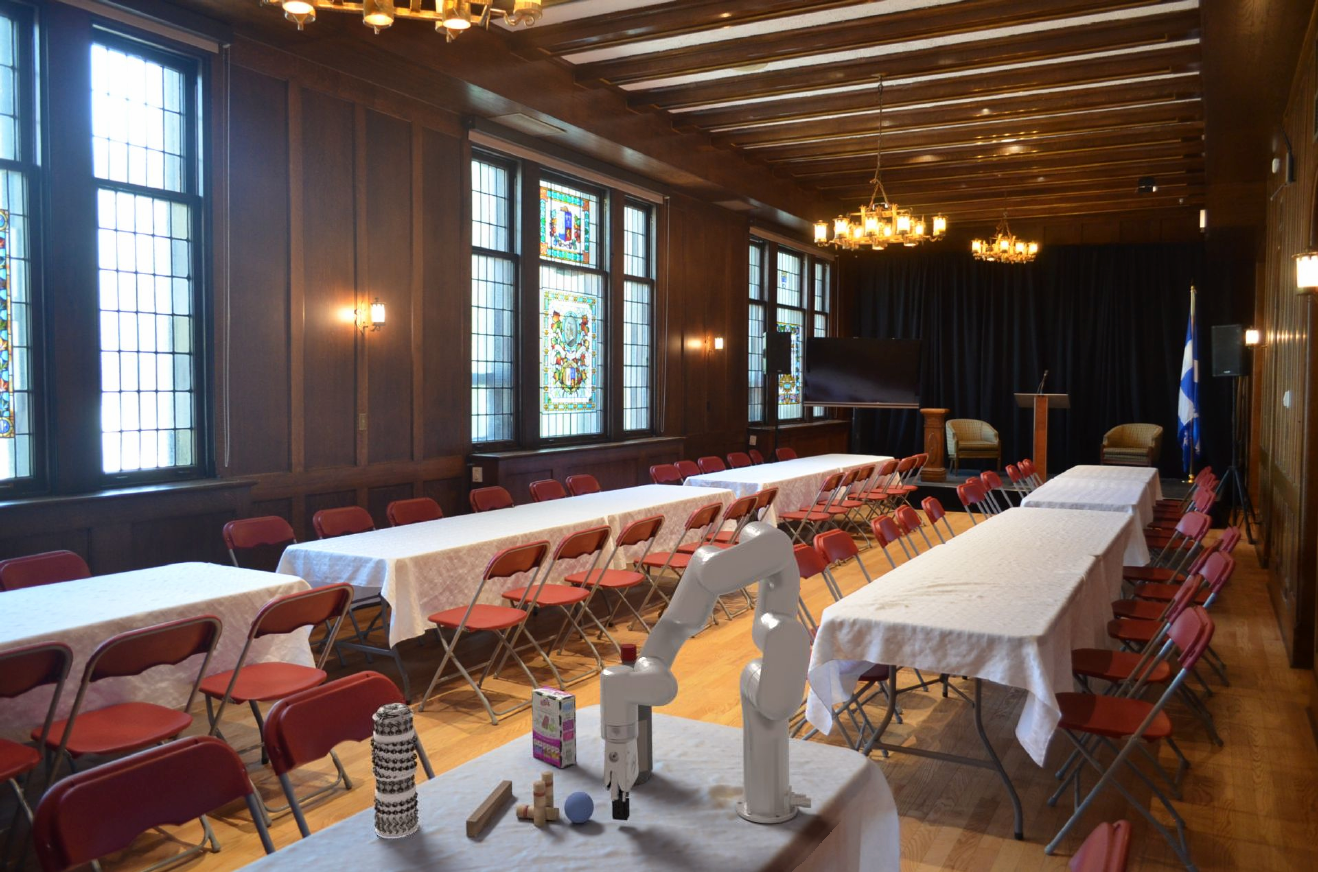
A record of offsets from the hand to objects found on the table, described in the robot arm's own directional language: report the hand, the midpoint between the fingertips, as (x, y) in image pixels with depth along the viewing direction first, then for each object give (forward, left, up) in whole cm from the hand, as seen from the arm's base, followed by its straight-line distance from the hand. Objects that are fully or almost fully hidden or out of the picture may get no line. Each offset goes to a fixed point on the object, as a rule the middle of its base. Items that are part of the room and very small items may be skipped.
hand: (620, 817), depth 197 cm
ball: (+9, 0, +2) cm, 9 cm away
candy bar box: (+24, -30, -2) cm, 38 cm away
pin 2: (+16, -2, -2) cm, 17 cm away
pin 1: (+16, +3, -2) cm, 17 cm away
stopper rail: (+28, 0, -2) cm, 28 cm away
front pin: (+13, 0, 0) cm, 13 cm away
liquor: (+4, -24, -2) cm, 24 cm away
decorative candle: (+44, +10, -2) cm, 45 cm away
